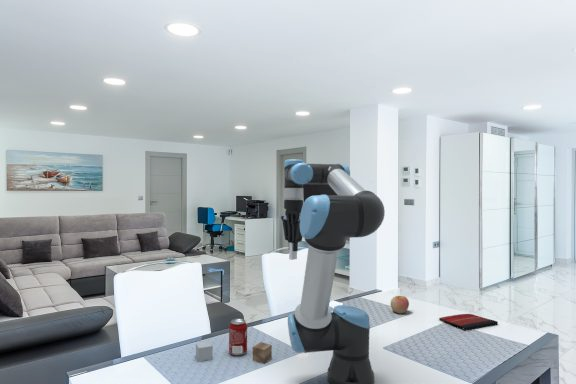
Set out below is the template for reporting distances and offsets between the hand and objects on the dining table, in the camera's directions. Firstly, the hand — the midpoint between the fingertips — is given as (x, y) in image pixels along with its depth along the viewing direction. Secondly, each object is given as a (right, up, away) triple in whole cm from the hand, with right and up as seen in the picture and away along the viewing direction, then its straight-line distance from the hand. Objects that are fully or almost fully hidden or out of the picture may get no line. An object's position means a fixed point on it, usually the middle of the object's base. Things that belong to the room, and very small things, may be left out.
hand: (293, 259), depth 152 cm
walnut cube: (-11, -35, -11) cm, 38 cm away
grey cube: (-33, -34, -10) cm, 49 cm away
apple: (+54, -35, +43) cm, 77 cm away
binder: (+82, -36, +30) cm, 94 cm away
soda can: (-21, -35, -6) cm, 41 cm away
